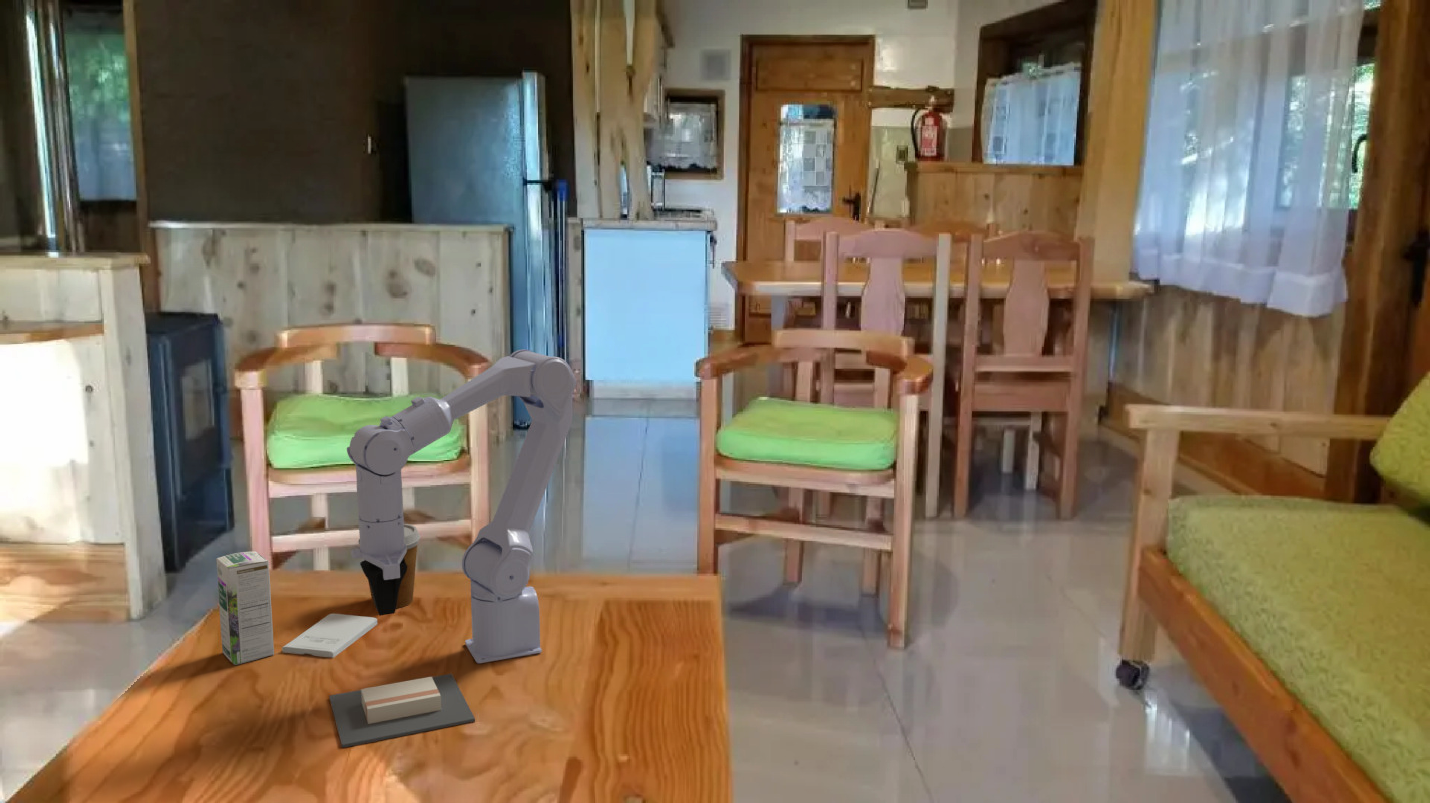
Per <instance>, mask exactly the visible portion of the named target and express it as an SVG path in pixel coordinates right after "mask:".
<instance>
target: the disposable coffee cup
mask: <svg viewBox="0 0 1430 803" xmlns="http://www.w3.org/2000/svg"><path fill="white" fill-rule="evenodd" d="M404 535H405V544H406V546H407V552H406V554H405V556H404V559H405V563H406V564H407V571H406V573H405V575H404V577H403V579H402V582H401V585H400V588H399V593H398V599H397V605H396V609H399V608H403V607H406V606H408V605H410V604H411V603H413V600H414V588H415V578H416V577H415V576H416V566H417V553H418V546H419V545H418V544H419V542H420V540H421V535H420V534H419V532H418V528H417V527H416V526H415V525H413V524H408V523H404ZM358 545H359V546H360V538H359V539H358ZM363 561H365V560H364V559H363ZM367 582H368V586H369V591H370V596H371V601H372V602H371V603H372V606H373V607H375V608H376V606H375V602H374V598H373V594H372V590H371V586H370V583H369V580H368V579H367Z"/></svg>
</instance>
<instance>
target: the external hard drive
mask: <svg viewBox="0 0 1430 803" xmlns="http://www.w3.org/2000/svg"><path fill="white" fill-rule="evenodd" d="M377 625H378V619H377V618H376V617H373V616H372V617H371V616H359V615H352V614H342V613H330V614H327V615H326V616H324V617H323V618H322V619H320V620H319V621H318V622H316V623H315V624H313V625H311V627H309V628H308V629H307V630H305V631H304V632H302V633H301V634H299V635H298V636H296V637H295V638H294V639H292V640H291V641H290V642H288V643H287V644H285V645H283V647H281V648H282V649H281V650H282V653H286V654H288V653H289V654H297V655H311V656H315V657H324V658H330V659H331V658H332V659H334V658H336V656H338V655H339V654H341V653H342V652H343V651H344V650H346V649H347V648H349V646H351V645H353V644H354V643H355V642H356V641H358V640H359V639H361V638H362V637H363V636H364V635H365V634H367V633H369V631H371V630H372V629H373V628H375V627H376V626H377Z"/></svg>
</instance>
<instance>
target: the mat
mask: <svg viewBox="0 0 1430 803" xmlns="http://www.w3.org/2000/svg"><path fill="white" fill-rule="evenodd" d="M431 677H432V678H433V681H434V683H435V685H436V687H437V689H438V691H439V693H440V695H441V710H438V711H433V712H428V713H423V714H418V715H412V716H407V717H402V718H397V719H392V720H386V721H381V722H376V723H371V724H368V721H367V719H366V715H365V712H364V709H363V706H362V697H361V689H358V690H352V691H346V692H342V693H336V694H335V693H334V694H330V695H329V701H330V705H331V709H332V713H333V716H334V720H335V726H336V729H337V732H338V736H339V740H340V743H341V744H340V745H341V748H342V749H343V748H349V747H353V746H358V745H364V744H368V743H375V742H378V741H384V740H388V739H394V738H398V737H404V736H408V735H414V734H418V733H419V734H420V733H423V732H428V731H433V730H437V729H443V728H448V727H453V726H458V725H463V724H469V723H473V722H476V718H475V716H474V713H473V712H472V710H471V709H470V707H469V706H470V705H469V704H468V702H467V700H466V698H465V697H464V695H463V692H462V691H461V689H460V687H459V685H458V683H457V680H456V679H455V678H454V676H453V674H452V673H448V674H443V675H436V676H431Z"/></svg>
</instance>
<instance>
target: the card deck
mask: <svg viewBox="0 0 1430 803" xmlns="http://www.w3.org/2000/svg"><path fill="white" fill-rule="evenodd" d="M432 677H433V676H427V677H422V678H415V679H410V680H406V681H405V680H404V681H399V682H393V683H389V684H383V685H377V686H372V687H365V688H361V689H360V690H361V697H362V706H363V709H364V712H365V715H366V719H367V721H368V724H371V723H376V722H381V721H386V720H392V719H397V718H402V717H407V716H412V715H418V714H423V713H428V712H433V711H438V710H441V695H440V693H439V691H438V689H437V687H436V685H435V683H434V681H433V678H432Z"/></svg>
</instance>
